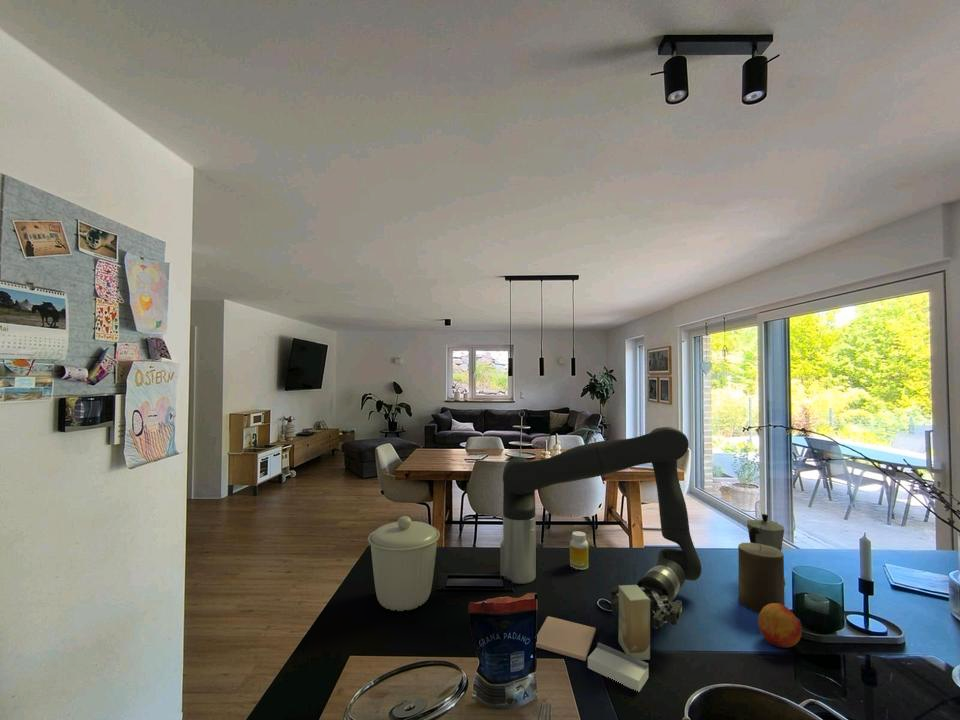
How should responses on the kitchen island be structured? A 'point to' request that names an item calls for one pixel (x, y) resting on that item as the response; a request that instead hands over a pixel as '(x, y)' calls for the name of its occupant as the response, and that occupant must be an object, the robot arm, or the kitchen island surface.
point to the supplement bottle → (579, 551)
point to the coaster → (565, 638)
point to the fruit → (779, 625)
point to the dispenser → (618, 666)
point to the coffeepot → (766, 532)
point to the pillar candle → (760, 575)
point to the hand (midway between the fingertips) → (633, 616)
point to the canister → (403, 563)
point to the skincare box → (634, 622)
